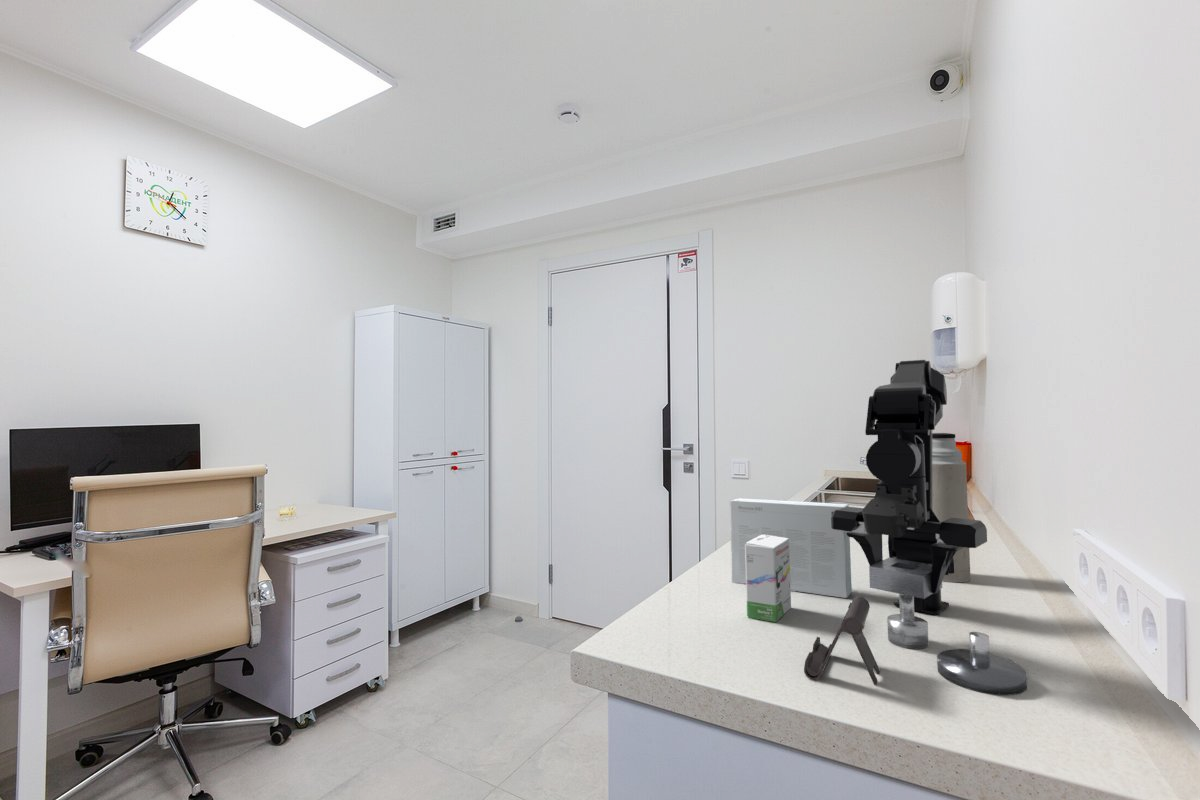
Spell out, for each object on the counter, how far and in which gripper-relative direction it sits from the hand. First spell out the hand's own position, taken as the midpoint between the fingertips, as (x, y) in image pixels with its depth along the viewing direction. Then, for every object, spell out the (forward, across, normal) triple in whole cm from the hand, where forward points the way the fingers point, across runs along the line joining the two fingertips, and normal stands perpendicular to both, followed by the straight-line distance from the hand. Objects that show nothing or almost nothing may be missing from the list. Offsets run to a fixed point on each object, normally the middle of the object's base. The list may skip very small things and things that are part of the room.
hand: (906, 587), depth 79 cm
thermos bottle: (+8, -7, +39) cm, 41 cm away
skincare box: (+8, -25, +12) cm, 29 cm away
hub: (+8, +10, -5) cm, 14 cm away
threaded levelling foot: (+8, 0, 0) cm, 8 cm away
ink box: (+8, -20, -3) cm, 22 cm away
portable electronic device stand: (+8, -2, -15) cm, 17 cm away
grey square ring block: (0, 0, 0) cm, 0 cm away
